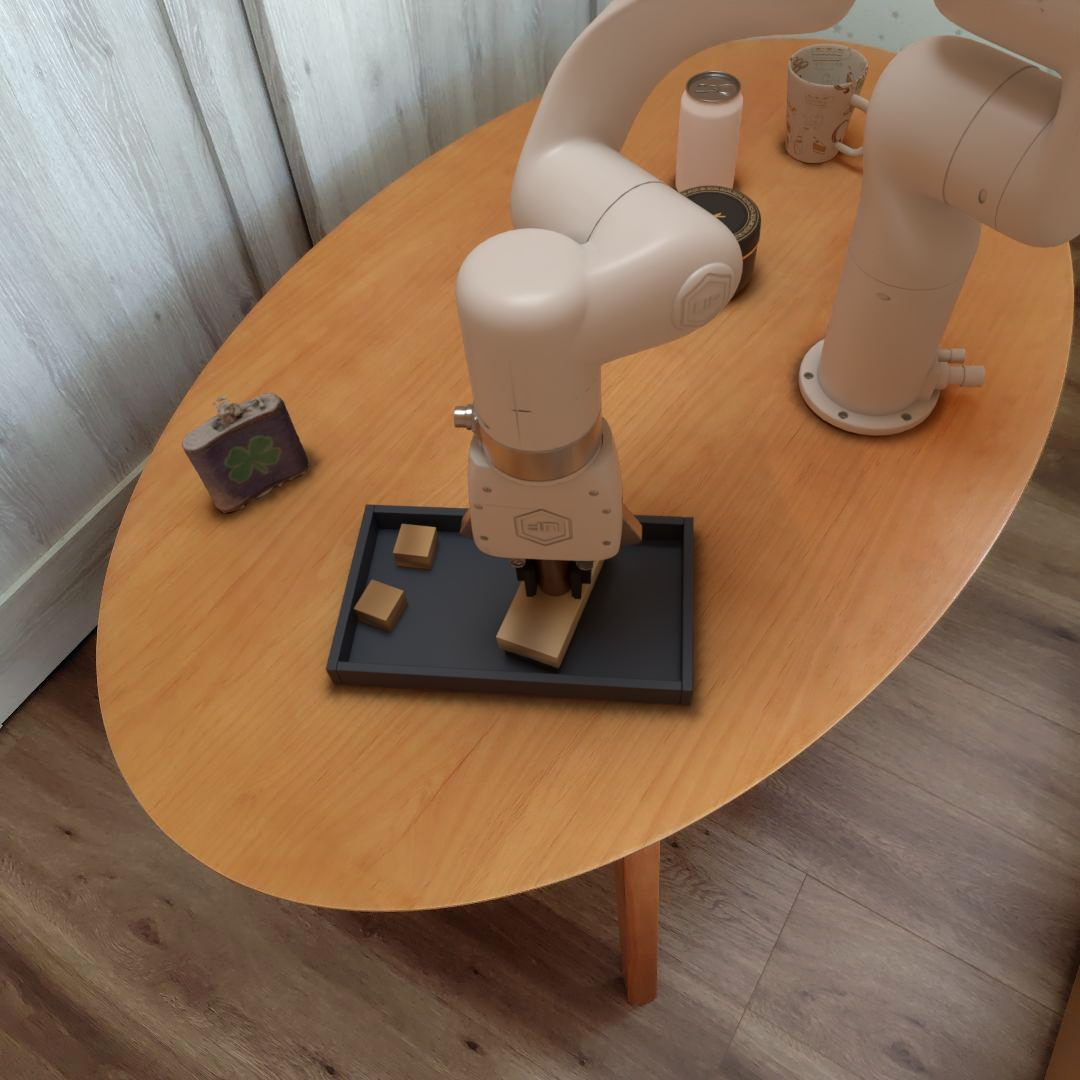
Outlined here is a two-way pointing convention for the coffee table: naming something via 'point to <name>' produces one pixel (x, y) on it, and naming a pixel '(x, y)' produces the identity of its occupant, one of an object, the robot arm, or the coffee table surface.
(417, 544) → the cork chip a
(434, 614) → the tray
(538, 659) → the brush
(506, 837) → the coffee table surface
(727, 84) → the can
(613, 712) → the coffee table surface
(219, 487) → the flask
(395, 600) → the small wooden block
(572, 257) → the robot arm
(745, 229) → the jar
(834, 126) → the mug
